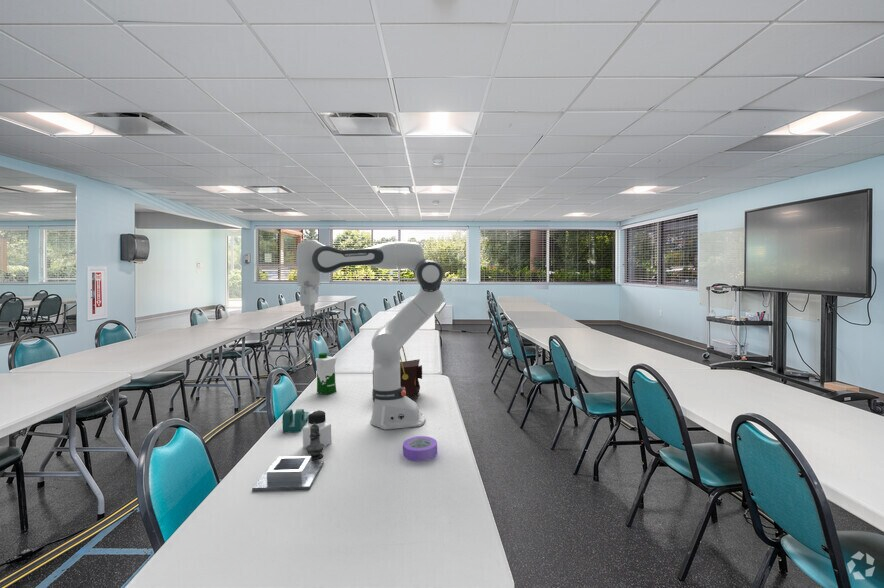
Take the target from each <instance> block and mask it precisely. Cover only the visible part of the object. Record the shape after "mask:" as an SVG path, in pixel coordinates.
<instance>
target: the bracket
mask: <svg viewBox="0 0 884 588" xmlns="http://www.w3.org/2000/svg"><path fill="white" fill-rule="evenodd" d="M309 413H310V412H308V411H305V409H304V408H299V409H298V408H296V410H295V412H294V410H292V409H284V411H283V413H282V422H281V423H282V433H300V432H302V431H303V427H305V426H306V424H308V414H309Z"/></svg>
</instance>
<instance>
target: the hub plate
mask: <svg viewBox="0 0 884 588" xmlns="http://www.w3.org/2000/svg"><path fill="white" fill-rule="evenodd" d="M324 464H325V462H324V460H316V461H312V459H311V456H309V455H302V456H301V455H299V456H278V457H277V459H276V460H275V461H273V462H272V463H271V465H270V466H269V467H268V468H267V469H266V471H265V472H264V473H263V474H262V475H261V476H260V477H259V479H258V480H257V481H256V483H255V484H254V485H253V486H252V488H251V490H252V492H275V491H276V492H277V491H278V492H279V491H283V492H284V491H307V490H308V491H309V490H310V489H311V488H312V485H313V484H314V482H315V480H316V479H317V477H318V476H319V473H320V471H321V470H322V468H323V466H324Z"/></svg>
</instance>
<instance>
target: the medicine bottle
mask: <svg viewBox="0 0 884 588" xmlns="http://www.w3.org/2000/svg"><path fill="white" fill-rule="evenodd" d="M326 420H327V419H326V412H325V411H324V410H313V411H310V412H309V414H308V421H307V425H305V426H304V427H303V429H302V447H303V448H306V447H307V446H308V445H310V437H309V436H310V427H311V426H312V425H313V424H314V422H315V424H317V425H318V426H319V434H320V443H321V444H324V448H325V447H327V446H328V445H330V444H331V443H332V423H327V422H326Z"/></svg>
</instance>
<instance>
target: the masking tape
mask: <svg viewBox="0 0 884 588" xmlns="http://www.w3.org/2000/svg"><path fill="white" fill-rule="evenodd" d="M402 455H403V457H404V458H405V459H407V460H410V461H413V462H423V461H424V462H425V461H429V460H432V459H434V458H435V457H436V456H438V441H437V440H436V439H435V438H433V437H430V436H425V435H418V436H412V437H408V438H406V439H405V440H404V441H403V443H402Z"/></svg>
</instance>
